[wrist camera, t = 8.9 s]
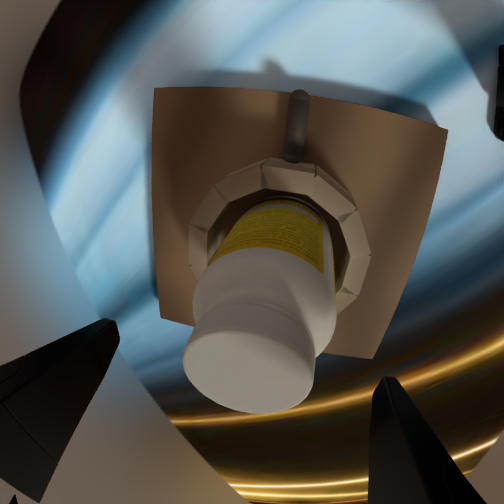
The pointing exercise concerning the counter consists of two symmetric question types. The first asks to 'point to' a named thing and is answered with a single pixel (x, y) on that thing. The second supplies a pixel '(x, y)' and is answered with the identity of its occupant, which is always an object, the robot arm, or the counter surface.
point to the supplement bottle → (264, 309)
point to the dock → (293, 191)
